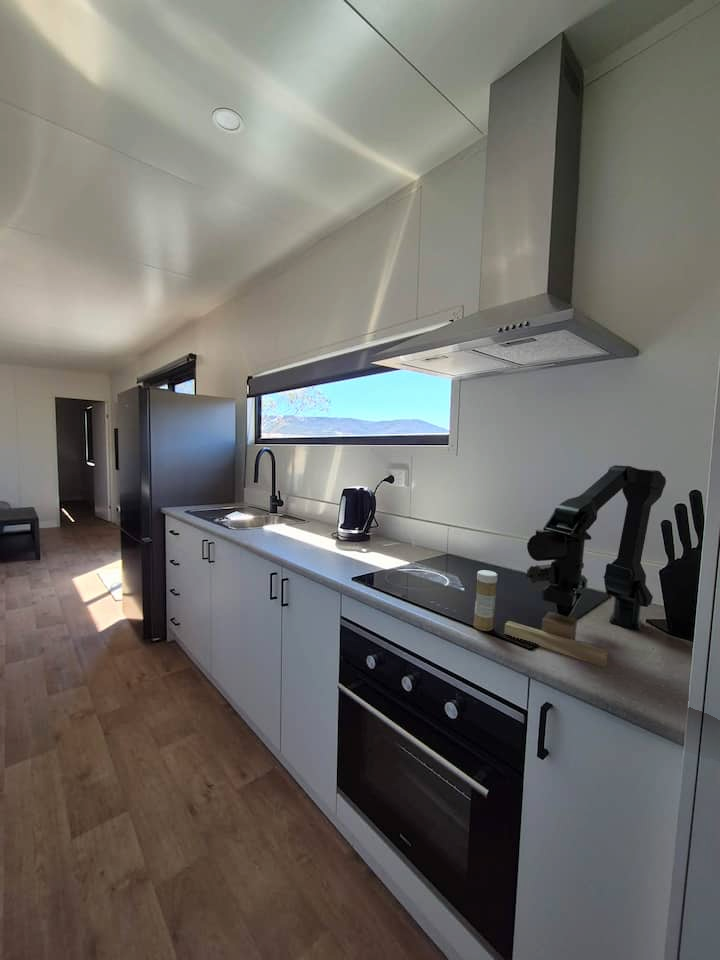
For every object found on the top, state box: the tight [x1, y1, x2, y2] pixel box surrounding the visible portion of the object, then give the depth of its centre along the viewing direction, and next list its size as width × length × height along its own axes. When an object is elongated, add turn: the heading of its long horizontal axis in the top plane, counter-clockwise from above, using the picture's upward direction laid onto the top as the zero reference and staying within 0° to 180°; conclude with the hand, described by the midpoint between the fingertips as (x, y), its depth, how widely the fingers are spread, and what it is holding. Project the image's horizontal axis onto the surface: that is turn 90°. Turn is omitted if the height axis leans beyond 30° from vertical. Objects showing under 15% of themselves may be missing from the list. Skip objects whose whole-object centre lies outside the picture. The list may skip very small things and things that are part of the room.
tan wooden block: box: [540, 611, 578, 641], centre depth 91 cm, size 6×6×5 cm
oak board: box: [503, 620, 608, 668], centre depth 87 cm, size 2×20×2 cm, turn 52°
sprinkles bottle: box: [473, 569, 498, 632], centre depth 95 cm, size 5×5×13 cm
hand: (562, 623), depth 94 cm, fingers closed
